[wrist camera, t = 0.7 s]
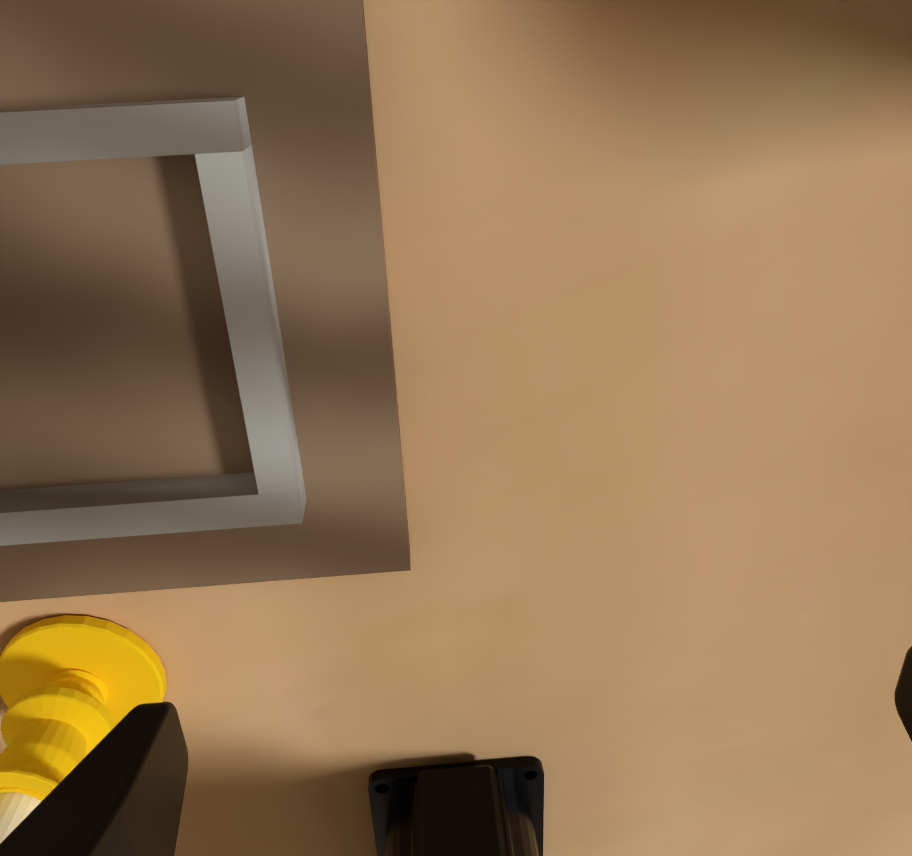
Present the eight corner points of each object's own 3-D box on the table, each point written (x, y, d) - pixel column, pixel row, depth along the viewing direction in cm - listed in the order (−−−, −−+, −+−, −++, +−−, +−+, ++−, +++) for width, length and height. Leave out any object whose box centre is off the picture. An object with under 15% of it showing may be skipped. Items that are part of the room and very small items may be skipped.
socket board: (409, 550, 24) (411, 595, 22) (-117, 590, 23) (-164, 641, 21) (358, -51, 17) (353, -62, 15) (-411, -18, 16) (-523, -26, 14)
